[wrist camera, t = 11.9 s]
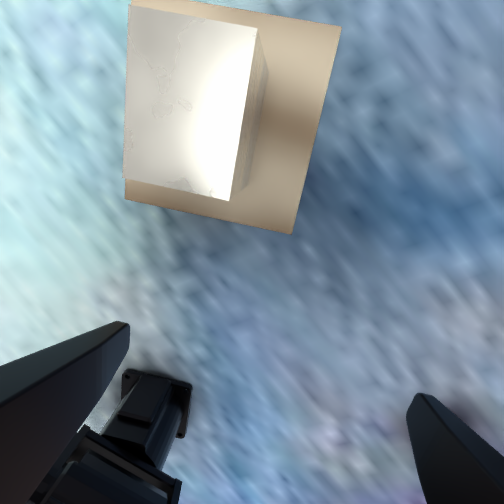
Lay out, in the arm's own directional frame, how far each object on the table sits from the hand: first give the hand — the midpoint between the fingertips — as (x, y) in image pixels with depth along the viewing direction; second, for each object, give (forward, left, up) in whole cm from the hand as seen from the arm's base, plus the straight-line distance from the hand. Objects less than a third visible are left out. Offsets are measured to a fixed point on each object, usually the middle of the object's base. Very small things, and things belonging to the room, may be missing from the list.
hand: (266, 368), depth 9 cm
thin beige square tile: (+7, +5, -13) cm, 16 cm away
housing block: (+7, +5, -10) cm, 14 cm away
